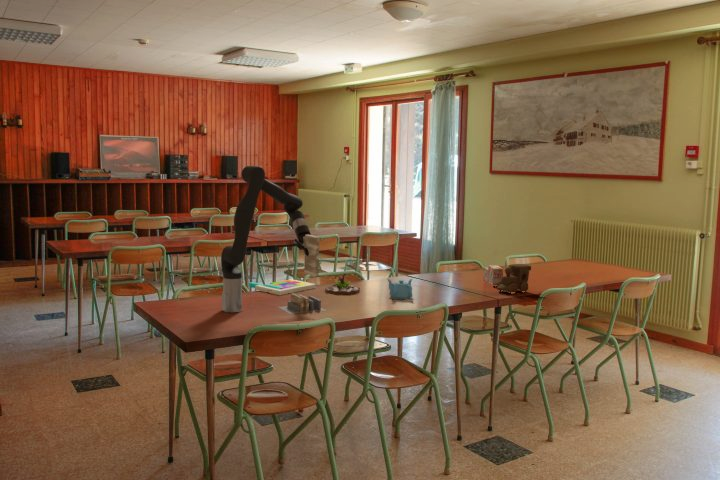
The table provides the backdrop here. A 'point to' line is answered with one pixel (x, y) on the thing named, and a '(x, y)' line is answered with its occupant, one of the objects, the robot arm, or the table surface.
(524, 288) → the wooden toy train
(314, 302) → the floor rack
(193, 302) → the table surface
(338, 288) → the plant
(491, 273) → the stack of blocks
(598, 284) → the table surface
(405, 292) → the teapot
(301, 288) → the puzzle game
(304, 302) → the pine offcuts
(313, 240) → the birch panel
